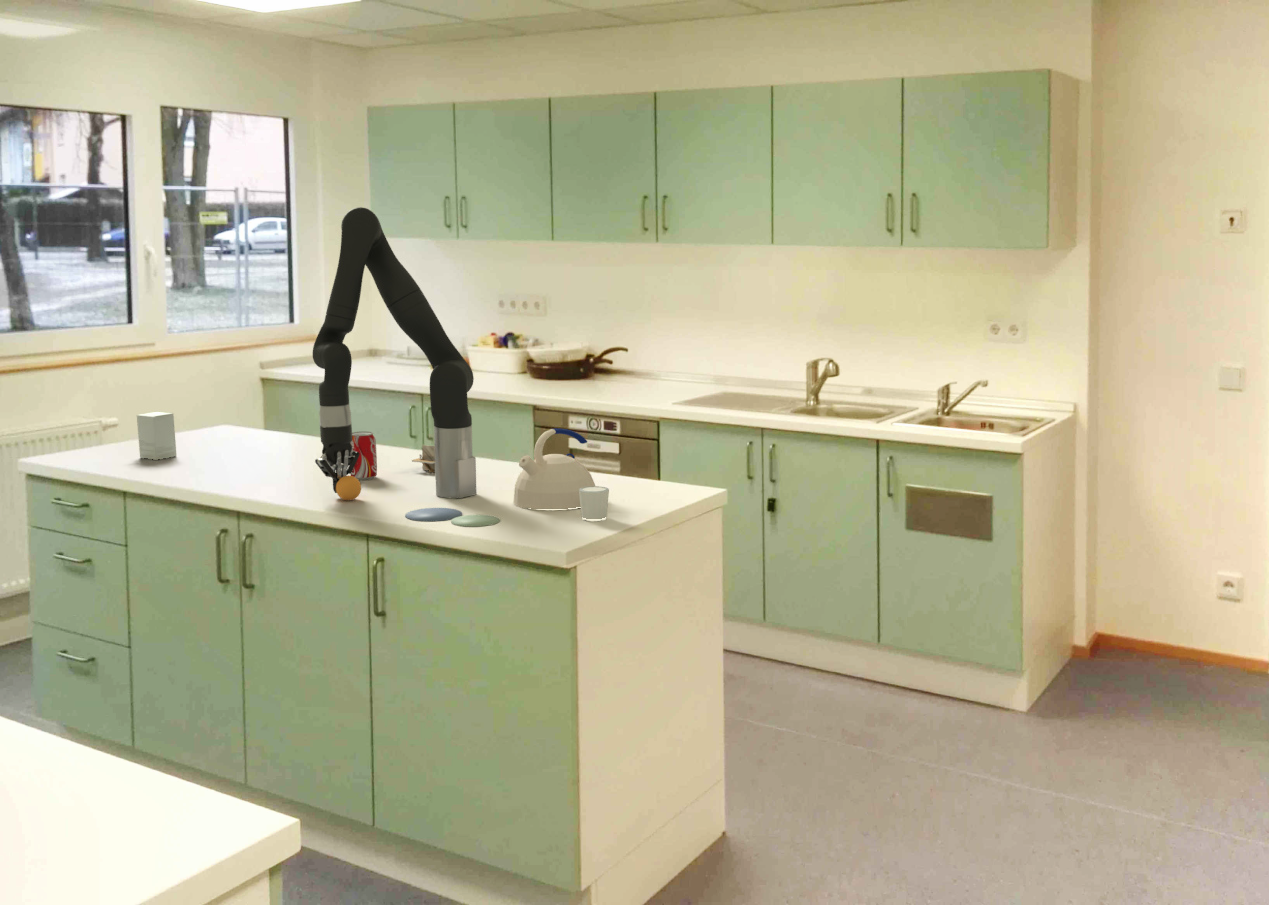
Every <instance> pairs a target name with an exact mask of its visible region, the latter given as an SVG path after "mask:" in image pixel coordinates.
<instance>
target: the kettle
mask: <svg viewBox="0 0 1269 905" xmlns="http://www.w3.org/2000/svg"><path fill="white" fill-rule="evenodd" d="M557 434H558V435H566V436H569V437H572V438H573V439H575V440H576V441H578V442H579V443H580V444H587V443H588V441H587V439H586V438H585V437H584V436H582V435H581V434H579V433H578V432H576V431H574V430H570V429H566V428H550V429H548V430H546V431H544V432H543V433H542V434H541V435H540V436H539V437H538V439H537V441H536V443H535V446H534V451H533V454H534V455H533V458H534V459H532V457H531V456H530V455H529V454H528V455H523V456H521V458H520V459H519V461H518V462H519V463H518V466H519V467H520V468H521V469H522V471H520V472H519V474H518V476H517V478H516V481H515V484H514V489H513V490H514V494H513V502H512V503H513V504H514V506H516V505H517V506H516V507H518V506H519V507H518V508H521V507H522V508H521V509H525V508H531V509H568V508H576V507H581V505H580V495H579V489H580V488H583V487H591V486H596V484H595V481H594V479H593V477H592V474H591V472H590V471H589V469H587V468H586V465H584V464H582V463H581V462H580V461H578V459H576V458H575V455H574V454H572V453H570V452H569V453H567V454H563V453H549V454H545V455H543V454H544V453H543V449H544V445H545V443H546V441H547V440H548V439H549V438H550V437H551V436H553V435H557Z"/></svg>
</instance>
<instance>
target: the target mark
mask: <svg viewBox="0 0 1269 905" xmlns="http://www.w3.org/2000/svg"><path fill="white" fill-rule="evenodd" d="M404 515H405V516H404V517H405V518H406V519H407V520H411V521H416V522H441V521H442V522H444V521H451V520H452V519H453V518H456V517H459V516H463V512H462V511H461V510H459V509H456V508H455V509H454V508H448V507H428V508H427V507H426V508H419V509H414V510H410V511H408V512H406V513H405V514H404Z"/></svg>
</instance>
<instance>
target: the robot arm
mask: <svg viewBox="0 0 1269 905" xmlns="http://www.w3.org/2000/svg"><path fill="white" fill-rule="evenodd" d="M340 228H341V239H340V251H339V257H338V263H337V268H336V272H335V276H334V281H333V284H332V288H331V292H330V295H329V296H330V297H329V299H328V304H327V307H326V312H325V317H324V322H323V324H322V326H321V327H320V329H319V332H318V334H317V336H316V338H315V341H314V343H313V346H312V359H313V361H314V364H315V365H316V367H318V368H320V369H324V379H323V380H322V381H321V382H320V383H319V385H318V400H319V412H318V415H319V416H318V417H319V431H320V432H319V435H320V442H321V444H322V451H321V453H322V454H321V455H320V457H319V458H316V459H315V461H314V463H315V464H316V465H317V467H319V469H320V470H321V472H322V473H323V474H324V476H325V477H327V478H332V489H333V491H334V493H335V494H337V492H336V484H337V482H338V481H339V479H341V478H342V477H344V476H349V475H351V472H352V470H353V468H354V466H355V464H356V462H357V460H358V457H359V455H360V453H359V452H355V451H354V450H353V449H352V445H351V443H350V442H351V441H352V433H353V428H352V412H351V406H350V393H349V391H350V390H349V383H350V379H351V374H352V373H351V372H352V364H353V363H352V362H353V361H352V360H353V358H352V354H351V351H350V349H349V347H348V346H347V345H346V344H345V343H343V342H344V341H345V337H346V335H348V334H350V333H351V332H352V331H353V329H354V326H355V323H356V319H357V315H358V310H359V305H360V300H361V293H362V284H363V278H364V271H365V268H367V269H368V271H369V273H370V274H371V276H372V279H373V282H374V284H375V286H376V288H377V291H378V293H379V294H380V296H381V298H382V301H383V302H384V304H385V306H386V308H387V310H388V312H389V313H390V315H391V316H392V318H393V320H394V321H395V322H396V324H397V325H398V326H399V328H400V329H401V330H402V332H404V334H405V335H407V337H408V338H410V340H412V341H413V343H415V345H417V346H418V348H419V349H420V350H421V351H422V352H423V353H424V355H425V357H426V358H427V360H428V361H429V363H430V365H431V368H432V371H431V373H430V376H429V400H430V401H429V402H430V413H431V417H432V419H433V433H434V435H433V438H434V439H433V440H434V442H433V443H434V446H435V472H434V474H435V475H434V476H435V495H436V496H437V497H439V498H446V499H447V498H449V499H463V498H466V497H470V496H474V495H475V496H476V495H477V466H476V465H477V463H476V462H477V460H476V456H474V455H473V454H474V453H473V423H472V422H473V421H472V420H473V419H472V414H471V413H470V410H469V404H468V392H469V391H471V389H472V388H473V385H474V379H475V378H474V372H473V370H472V368H471V367H470V365H469V364H468V362H467V361H466V360H465V358H464V357H463V356H462V354H461V353H460V352H459V350H458V349H457V348H456V346H455V345H454V343H453V342H452V341H451V339H450V338H449V336H448V335H447V333H446V331H445V329H444V327H443V325H442V323H441V322H440V320H439V319H438V316H437V315H436V313H435V312H434V310H433V308H432V307H431V304H430V302H429V301H428V299H427V297H426V296H425V294H424V293H423V291H422V289H421V287H420V286H419V285H418V283H417V282H416V280H415V279H414V278H413V277H412V275H411V273H410V272H409V271H408V270H407V269H406V268H405V266H404V265H403V264H402V262H400V261H399V259H398V258H397V256H396V255H395V253H394V251H393V250H392V247H391V245H390V244H389V241H388V239H387V238H386V235H385V233H384V230H383V228H382V225H381V222H380V219H379V218H378V217H377V215H376V213H374V211H372V210H370V209H369V208H368V207H367V208H366V207H361V206H360V207H359V206H358V207H355V208H351V209H350V210H349V211H347V212H346V214H345V215H344V216H343V218H342V220H341V226H340Z"/></svg>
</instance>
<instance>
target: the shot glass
mask: <svg viewBox="0 0 1269 905" xmlns="http://www.w3.org/2000/svg"><path fill="white" fill-rule="evenodd" d="M609 494H610V488H608V487H605V486H599V485H597V486H596V485H595V486H591V487H583V488H580V489H579V495H580V505H581V509H580V512H581V514H580V515H581V518H582V517H583V518H586V519H602V518H605V517H607V516H608V508H609V496H610V495H609ZM607 518H608V517H607Z"/></svg>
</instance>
